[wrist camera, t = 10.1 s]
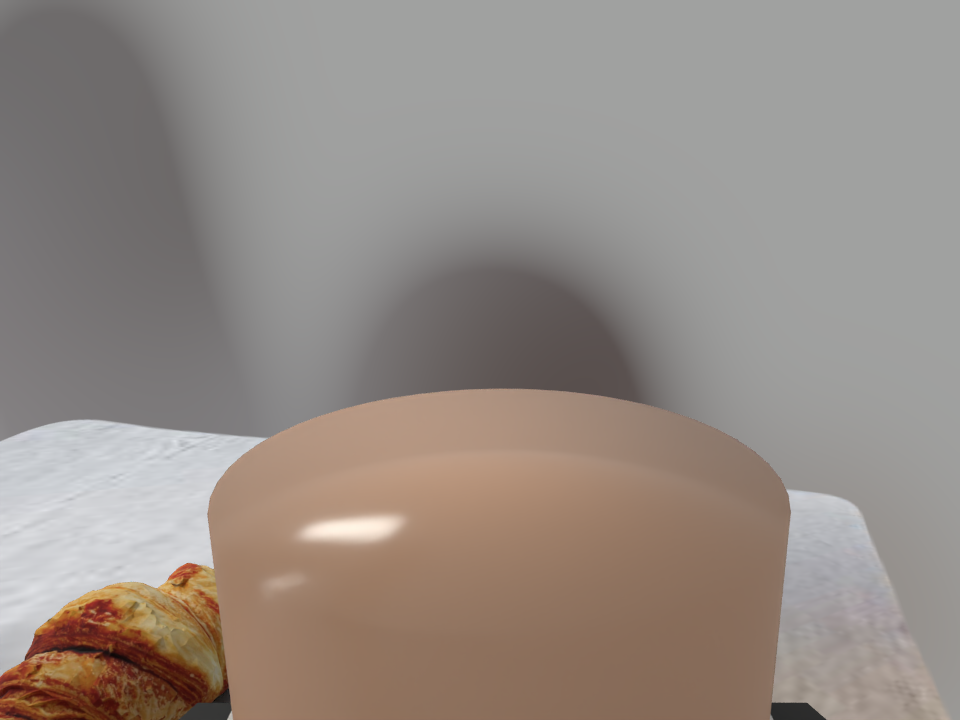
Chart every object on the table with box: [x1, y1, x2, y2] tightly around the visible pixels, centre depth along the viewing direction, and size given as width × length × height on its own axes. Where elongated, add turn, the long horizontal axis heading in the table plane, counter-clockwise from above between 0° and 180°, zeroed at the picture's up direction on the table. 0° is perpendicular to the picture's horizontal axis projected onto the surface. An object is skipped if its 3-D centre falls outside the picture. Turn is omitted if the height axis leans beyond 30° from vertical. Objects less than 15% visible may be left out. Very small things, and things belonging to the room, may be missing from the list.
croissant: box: [0, 563, 229, 720], centre depth 37 cm, size 21×10×8 cm, turn 152°
